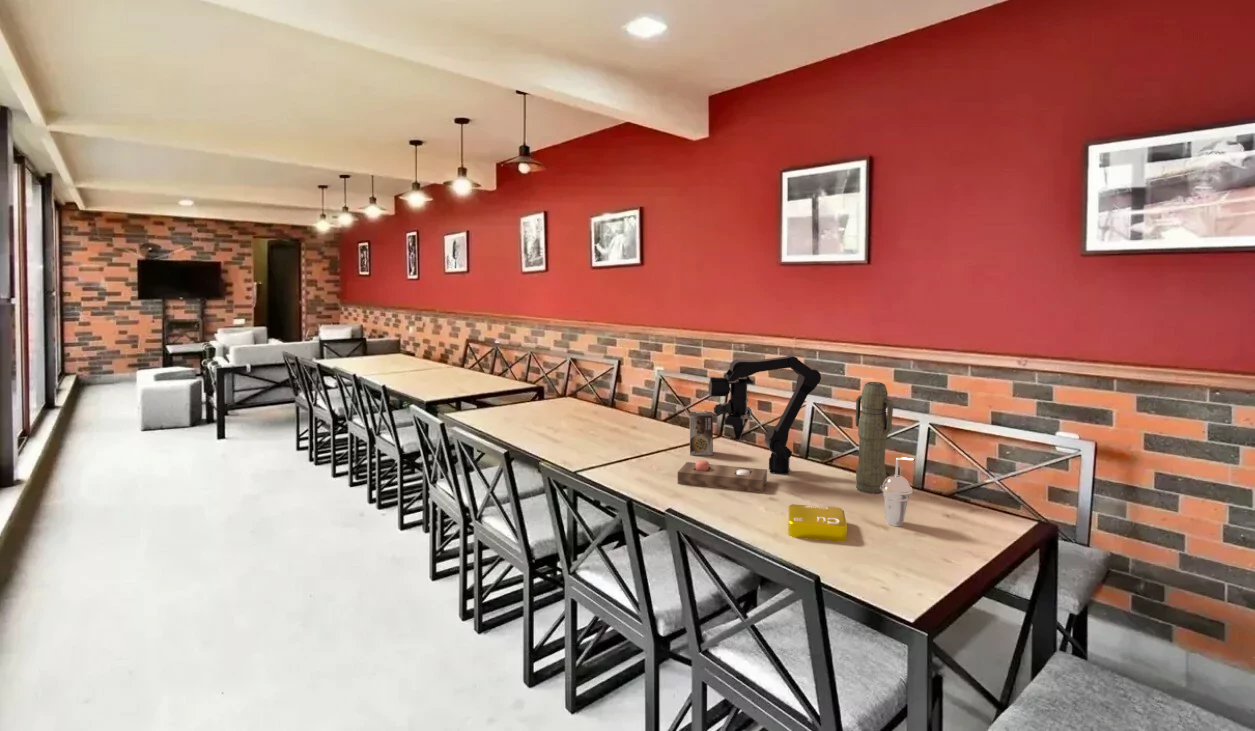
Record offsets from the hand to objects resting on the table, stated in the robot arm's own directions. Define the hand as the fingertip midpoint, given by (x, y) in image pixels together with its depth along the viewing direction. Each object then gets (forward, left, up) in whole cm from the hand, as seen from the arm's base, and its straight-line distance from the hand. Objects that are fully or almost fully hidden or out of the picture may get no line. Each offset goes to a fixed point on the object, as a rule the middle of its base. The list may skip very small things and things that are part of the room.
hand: (738, 439), depth 222 cm
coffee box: (+18, -20, -12) cm, 30 cm away
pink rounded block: (+10, +12, -10) cm, 19 cm away
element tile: (-30, +43, -13) cm, 54 cm away
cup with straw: (-50, +32, -12) cm, 61 cm away
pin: (-4, +12, -12) cm, 17 cm away
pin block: (+3, +12, -12) cm, 17 cm away
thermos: (-44, +4, -12) cm, 46 cm away
